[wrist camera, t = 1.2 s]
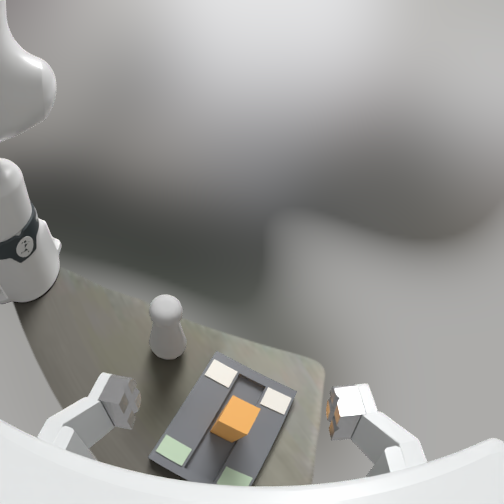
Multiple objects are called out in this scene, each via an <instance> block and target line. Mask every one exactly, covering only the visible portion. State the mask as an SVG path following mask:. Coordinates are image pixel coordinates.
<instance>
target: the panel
mask: <svg viewBox="0 0 504 504" xmlns="http://www.w3.org/2000/svg"><path fill="white" fill-rule="evenodd" d="M296 392H297V391H295V390H293V389H291V388H289V387H286V386H284V385H282V384H280V383H278V382H276V381H274V380H272V379H270V378H268V377H266V376H264V375H262V374H260V373H258V372H256V371H254V370H252V369H250V368H248V367H246V366H244V365H242V364H240V363H238V362H236V361H234V360H233V359H231V358H229V357H227V356H225V355H223V354H222V353H220V352H218V351H216V352H215V354H214V356H213V357H212V359H211V360H210V362H209V364H208V365H207V367H206V368H205V370H204V372H203V373H202V375H201V376H200V378H199V379H198V381H197V383H196V384H195V386H194V387H193V389H192V390H191V392H190V394H189V395H188V397H187V398H186V400H185V401H184V403H183V404H182V406H181V408H180V409H179V411H178V412H177V414H176V415H175V417H174V418H173V420H172V421H171V423H170V425H169V426H168V428H167V429H166V431H165V432H164V434H163V435H162V437H161V438H160V440H159V441H158V443H157V444H156V446H155V447H154V449H153V450H152V452H151V454H150V455H149V457H148V458H149V459H151V460H153V461H154V462H156V463H158V464H159V465H161V466H163V467H165V468H166V469H168V470H170V471H172V472H173V473H175V474H177V475H179V476H181V477H183V478H184V479H186V480H188V481H190V482H198V483H207V484H218V485H232V486H252V484H253V482H254V480H255V478H256V476H257V474H258V473H259V471H260V469H261V467H262V465H263V463H264V461H265V459H266V457H267V455H268V453H269V451H270V449H271V447H272V445H273V443H274V441H275V439H276V437H277V435H278V432H279V430H280V428H281V426H282V424H283V422H284V420H285V417H286V415H287V413H288V411H289V408H290V406H291V404H292V402H293V399H294V397H295V395H296ZM233 395H234V396H236V397H238V398H240V399H242V400H244V401H246V402H248V403H250V404H252V405H254V406H256V407H258V408H260V411H259V413H258V415H257V417H256V419H255V421H254V423H253V425H252V427H251V429H250V431H249V433H248V435H246V436H244V437H242V438H240V439H238V440H236V441H234V442H232V443H231V442H229V441H227V440H225V439H223V438H221V437H219V436H217V435H215V434H213V433H211V432H210V430H211V429H212V427H213V425H214V424H215V422H216V420H217V419H218V417H219V415H220V413H221V412H222V410H223V409H224V407H225V406H226V404H227V403H228V402H229V400H230V399H231V397H232V396H233Z"/></svg>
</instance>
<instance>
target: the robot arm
mask: <svg viewBox="0 0 504 504" xmlns="http://www.w3.org/2000/svg"><path fill="white" fill-rule="evenodd" d="M55 97H56V79H55V75H54V72H53V70H52V69H51V67H50V66H49V64H48V63H46V62H45V61H44V60H43V59H41V58H39V57H36V56H34V55H32V54H30V53H28V52H27V51H25V50H24V49H23V48H22V47H21V46H20V45H19V44H18V43H17V42H16V41H15V39H14V38H13V36H12V34H11V32H10V30H9V27H8V23H7V16H6V0H0V142H2V141H4V140H7V139H9V138H12V137H14V136H17V135H19V134H21V133H22V132H24V131H26V130H28V129H30V128H31V127H33V126H35V125H37V124H38V123H40V122H42V121H44V120H45V119H46V117H47V116H48V114H49V113H50V111H51V109H52V106H53V104H54V101H55ZM60 250H61V243H60V241H59V240H58V239H56V238H53V237H52V236H51V233H50V231H49V229H48V226H47V224H46V222H45V221H44V220H43V221H42V220H41V219H39V218H38V216H37V212H36V210H35V208H34V206H33V204H32V202H31V201H30V200H29V197H28V193H27V190H26V186H25V182H24V179H23V175H22V172H21V170H20V169H19V167H18V166H17V165H16V164H14V163H13V162H11V161H10V160H8V159H4V158H0V304H5V303H8V302H12V301H15V302H28V301H31V300H34V299H36V298H38V297H40V296H41V295H43V294H44V293H45V292H46V291H47V290H48V289H49V288H50V287H51V286H52V285H53V283H54V282H55V280H56V278H57V275H58V272H59V266H60V263H59V253H60ZM135 387H136V381H135V379H133V378H128V377H123V376H118V375H113V374H108V373H102V374H100V376H99V378H98V379H97V381H96V383H95V385H94V387H93V388H92V390H91V392H90V394H89V396H88V397H84V398H82V399H81V400H79V401H77V402H75V403H74V404H72V405H70V406H69V407H67V408H65V409H63V410H62V411H60V412H58V413H57V414H55V415H53V416H51V417H50V418H48V419H47V421H46V423H45V424H44V426H43V428H42V429H41V431H40V433H39V435H38V437H34V436H32V435H30V434H28V433H26V432H24V431H22V430H20V429H18V428H16V427H14V426H12V425H10V424H8V423H7V422H5V421H3V420H1V419H0V504H504V442H503V441H501V440H499V439H496V438H490V439H487V440H485V441H482V442H480V443H478V444H476V445H473V446H471V447H468V448H466V449H464V450H461V451H458V452H456V453H453V454H450V455H448V456H445V457H442V458H439V459H436V460H433V461H430V462H427V460H426V457H425V455H424V452H423V449H422V447H421V444H420V441H419V439H417V438H416V437H415V436H413V435H412V434H410V433H409V432H408V431H406V430H405V429H404V428H402V427H401V426H400V425H398V424H397V423H396V422H394V421H393V420H392V419H390V418H389V417H388V416H386V415H385V414H384V413H382V412H378V410H377V408H376V405H375V402H374V399H373V396H372V393H371V390H370V388H369V385H368V384H356V385H345V386H333V387H332V388H331V390H330V396H331V397H330V398H329V399H328V401H327V408H326V412H327V420H328V421H330V422H331V424H330V427H329V431H330V436H331V440H343V439H351V440H352V441H353V443H354V444H355V445H356V446H357V447H358V448H359V449H360V450H361V451H362V452H363V453H364V454H365V455H366V456H367V457H368V458H369V459H370V460H371V461H372V462H373V463H374V464H375V465H374V466H373V468H372V469H371V470H370V472H369V473H368V474H367V476H366V477H365V478H360V479H354V480H348V481H340V482H333V483H323V484H313V485H299V486H232V485H218V484H207V483H198V482H190V481H183V480H176V479H170V478H165V477H159V476H154V475H149V474H145V473H140V472H136V471H132V470H128V469H124V468H120V467H116V466H113V465H109V464H106V463H102V462H99V461H96V460H95V457H94V456H93V454H92V453H91V452H90V451H89V448H90V447H91V446H93V445H94V444H95V443H96V442H97V441H99V440H100V439H101V438H102V437H103V436H105V435H106V434H107V433H108V432H109V431H111V430H112V429H113V428H114V426H116V427H121V428H126V429H131V430H132V427H133V425H134V422H135V419H136V417H135V415H134V413H136V412H137V411H139V408H140V406H141V394H140V392H139V390H138V389H136V388H135Z"/></svg>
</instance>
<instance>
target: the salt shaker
mask: <svg viewBox="0 0 504 504" xmlns="http://www.w3.org/2000/svg"><path fill="white" fill-rule="evenodd" d="M149 314H150V317H151V320H152V321H153V325H152V330H151V334H150V339H149V344H150V347H151V350H152V351H153V352H154V353H155V354H156V355H157V356H158V357H160V358H163V359H175V358H177V357H178V356H180V355H181V354H182V353H183V351H184V350H185V348H186V337H185V335H184V332H183V330H182V327H181V324H180V320H181V319H182V306H181V304H180V301H178V299H176V298H175V297H174V296H170V295H160V296H158V297H156V298H154V300H153V301H152V302H151V304H150V309H149Z"/></svg>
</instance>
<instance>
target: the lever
mask: <svg viewBox="0 0 504 504" xmlns="http://www.w3.org/2000/svg"><path fill="white" fill-rule="evenodd" d="M259 411H260V408H258V407H256V406H254V405H252V404H250V403H248V402H246V401H244V400H242V399H240V398H238V397H236V396H234V395H233V396H232V397H231V399H230V400H229V402H228V403H227V404H226V406H225V407H224V409H223V410H222V412H221V413H220V415H219V417H218V419H217V420H216V422H215V424H214V425H213V427H212V429H211V430H210V432H211V433H213V434H215V435H217V436H219V437H221V438H223V439H225V440H227V441H229V442H231V443H232V442H234V441H236V440H238V439H240V438H242V437H244V436H246V435H248V433H249V431H250V429H251V427H252V425H253V423H254V421H255V419H256V417H257V415H258V413H259Z"/></svg>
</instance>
